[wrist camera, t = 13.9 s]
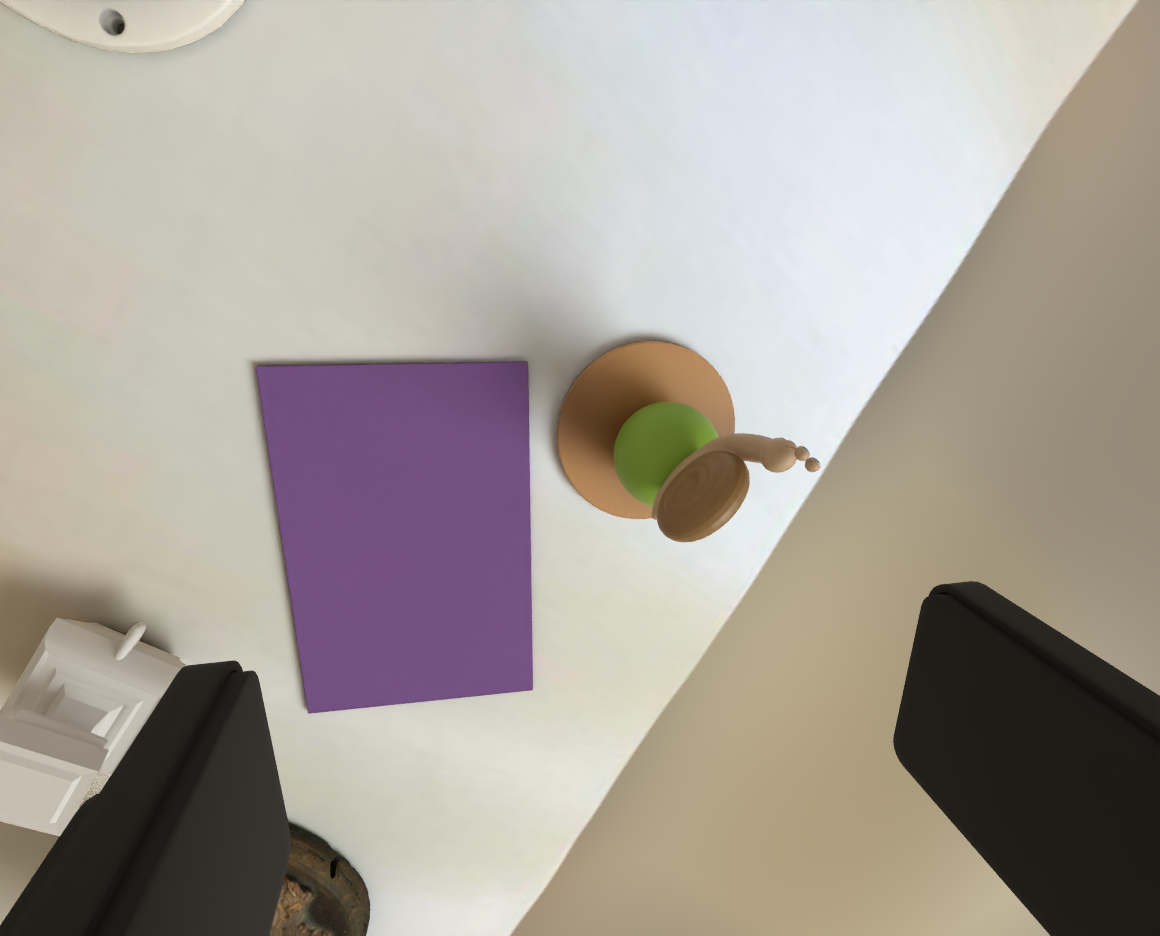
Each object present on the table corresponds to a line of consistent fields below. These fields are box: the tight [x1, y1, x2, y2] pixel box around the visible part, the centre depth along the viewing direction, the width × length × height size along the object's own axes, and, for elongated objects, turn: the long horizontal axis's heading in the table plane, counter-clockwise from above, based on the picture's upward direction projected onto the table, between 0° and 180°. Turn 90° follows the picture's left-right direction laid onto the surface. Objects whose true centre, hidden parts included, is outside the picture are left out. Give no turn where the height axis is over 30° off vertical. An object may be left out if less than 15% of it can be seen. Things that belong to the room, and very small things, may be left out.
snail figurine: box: [614, 402, 820, 542], centre depth 29 cm, size 5×6×12 cm
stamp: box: [0, 618, 186, 836], centre depth 30 cm, size 9×7×8 cm
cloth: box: [256, 362, 533, 713], centre depth 34 cm, size 20×13×1 cm, turn 179°
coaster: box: [557, 341, 735, 519], centre depth 34 cm, size 10×10×1 cm
